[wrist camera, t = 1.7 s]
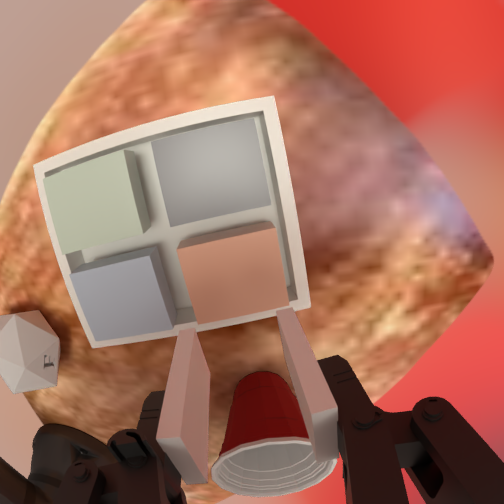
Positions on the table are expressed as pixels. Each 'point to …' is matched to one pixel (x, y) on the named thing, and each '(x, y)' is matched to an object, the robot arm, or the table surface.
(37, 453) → the robot arm
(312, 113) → the table surface
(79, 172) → the key sage
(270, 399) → the plastic cup
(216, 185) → the key charcoal
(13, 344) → the die
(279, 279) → the key terracotta
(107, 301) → the key slate
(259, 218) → the keypad
